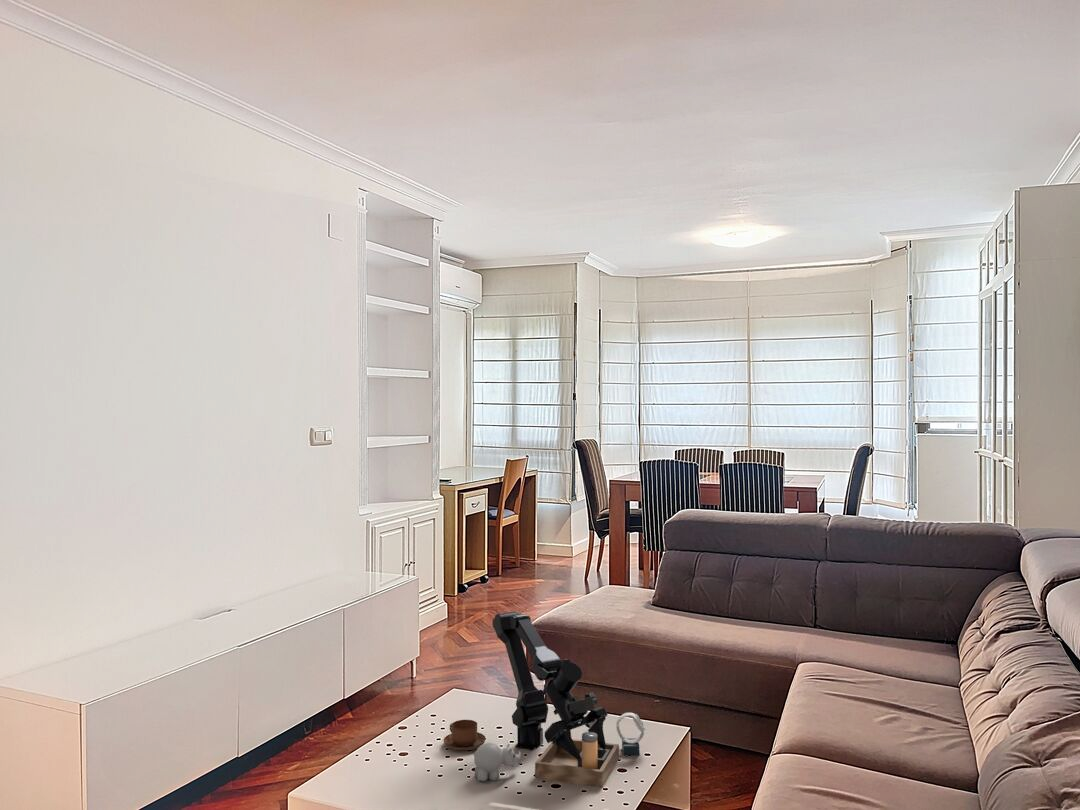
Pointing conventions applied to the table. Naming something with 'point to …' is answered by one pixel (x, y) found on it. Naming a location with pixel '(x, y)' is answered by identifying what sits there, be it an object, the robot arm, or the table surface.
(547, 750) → the walled box
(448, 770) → the table surface
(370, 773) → the table surface
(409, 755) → the table surface
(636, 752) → the watch
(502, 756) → the chubby cartoon animal
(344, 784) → the table surface
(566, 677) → the robot arm
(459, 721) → the cup and saucer
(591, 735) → the grey-capped orange cylinder
